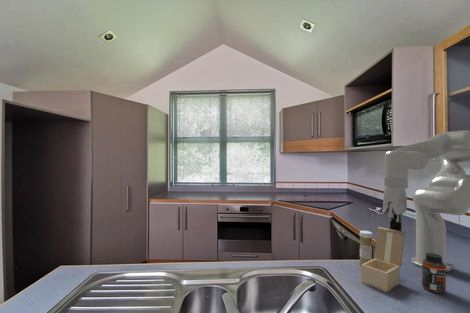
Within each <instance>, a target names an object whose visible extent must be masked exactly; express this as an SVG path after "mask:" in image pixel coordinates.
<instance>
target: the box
mask: <svg viewBox="0 0 470 313" xmlns="http://www.w3.org/2000/svg"><path fill="white" fill-rule="evenodd" d="M360 266H361V280H360V282H361V283H363V284H365V285H367V286H369V287H372V288H374V289H377V290H379V291H382V292H385V293H389V292H390V291H392V290H393V289H395V288H396V287H397V286H399V285H400V273H401V272H400V267H401V266H398V265H395V264H391V263H388V262H385V261H382V260H378V259H375V258H372V260H370V261H368V262H366V263H364V264H361V265H360Z"/></svg>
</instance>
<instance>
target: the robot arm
mask: <svg viewBox="0 0 470 313" xmlns="http://www.w3.org/2000/svg"><path fill="white" fill-rule="evenodd" d="M438 158H439V159H440V161H439V162H440V167H441V168H440V170H439V171H438V172H437V173H436V174H435V175H434V176H433V178H432V179H431V180H430V182H429V184H428V187H419V188H417V189H416V190H415V191H414V192H413V193H412V194H413V195H412V201H413V206H414V209H415V210H414V212H415V256H413V257H411V263H412V264H414V265H416V267H417V266H418V267H420V268H422V262H423V260H424V259H426V253H434V254H437V255H440V256H441V257H442V262H443V263H444V264H445V266H446V273H447V272H451V271H452V267H451V265H450V264H449V263H447V233H446V232H447V228H446V227H447V226H446V221H445V220H444V218H443V216H442V215H441V214H445V215H452V216H464V215H465V214H467V212H468V211H469V210H470V174H467V173H466V171H465V169H464V168H463V167H462V166H461V165H459V164H460V163H464V164H465V163H467V164H468V163H470V130H468V129H467V130H462V129H461V130H453V131H444V132H440V133H437V134H435V135H433V136H431V137H429V138H427V139H425V140H422V141H418V142H415V143H412V144H408V145H404V146H401V147H398V148H396V149H394V150H388V151H386V152H385V153H384V164H383V165H384V167H383V168H384V169H383V170H384V171H383V173H384V174H383V175H384V176H383V178H384V179H383V180H384V182H383V183H384V185H383V186H384V190H383V200H382V202H383V203H382V212H383V213H384V214H387V213H388V214H387V217H388V218H389V229H392V230H397V231H402V221H403V216H404V214H405V213H406V212H407V210H408V208H407V207H408V205H407V204H408V203H407V202H408V201H407V198H408V197H407V189H409V171H411V172H413V171H415V172H416V171H423V170H425V168H427V166H428V165H429V161H431V160H437V159H438Z"/></svg>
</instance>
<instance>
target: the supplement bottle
mask: <svg viewBox="0 0 470 313" xmlns="http://www.w3.org/2000/svg"><path fill="white" fill-rule="evenodd" d="M421 271H422V272H421V274H422V275H421V277H422V278H421V279H422V281H421V283H422V284H421V286H422V288H423V289H425V290H427V291H428V292H430V293H433V294H440V295H443V294H445V293H446V290H447V288H446V285H447V284H446V283H447V281H446V280H447V279H446V278H447V276H446V275H447V272H446V266H445V264H444V263H443V262H442V257H441V256H440V255H437V254H434V253H426V259H424V260H423V262H422V267H421Z"/></svg>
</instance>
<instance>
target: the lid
mask: <svg viewBox="0 0 470 313" xmlns="http://www.w3.org/2000/svg"><path fill="white" fill-rule="evenodd" d="M405 235H406V232H405V231H403V230H401V231H397V230H392V229H390V228H387V227H383V226H382V227H381V226H378V227H377V234H376V242H375V248H374V249H375V250H374V258H373V259H378V260H382V261H385V262H388V263H391V264H395V265H398V266H400V267H402V266H403V256H404V255H403V254H404V253H403V252H404V245H405V244H404V242H405Z"/></svg>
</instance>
